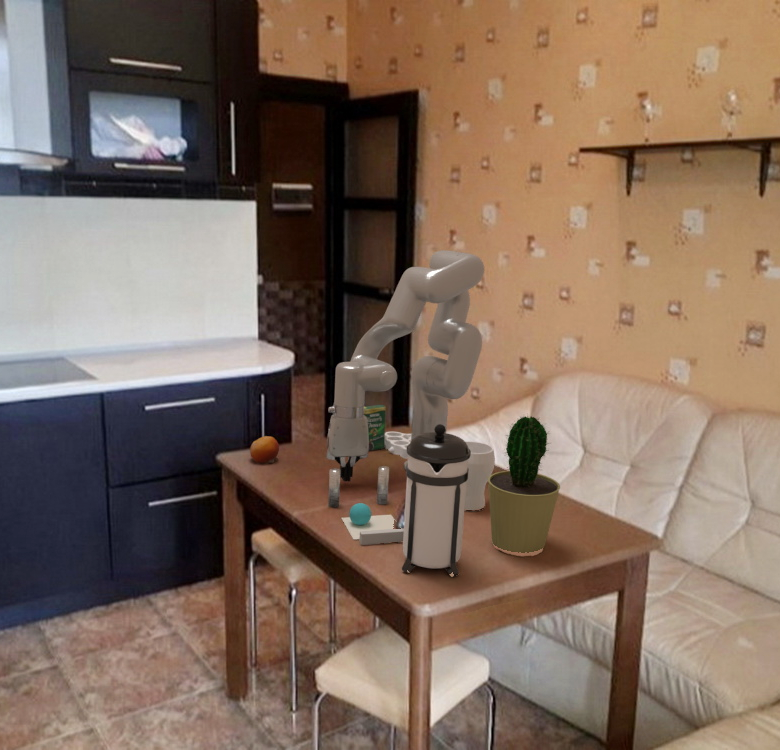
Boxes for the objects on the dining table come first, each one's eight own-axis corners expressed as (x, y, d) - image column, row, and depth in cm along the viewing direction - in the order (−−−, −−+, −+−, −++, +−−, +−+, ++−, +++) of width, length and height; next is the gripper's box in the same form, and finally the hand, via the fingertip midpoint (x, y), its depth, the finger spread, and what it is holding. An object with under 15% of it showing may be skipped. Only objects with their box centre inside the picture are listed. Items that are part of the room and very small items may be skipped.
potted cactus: (517, 567, 169) (530, 428, 163) (468, 540, 181) (478, 409, 175) (568, 551, 178) (582, 419, 172) (518, 526, 190) (529, 401, 184)
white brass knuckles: (441, 458, 238) (396, 462, 232) (415, 439, 254) (372, 443, 248) (442, 447, 237) (396, 451, 231) (416, 429, 253) (372, 432, 247)
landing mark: (390, 515, 193) (390, 514, 193) (406, 536, 182) (406, 535, 182) (341, 518, 189) (341, 517, 189) (353, 540, 178) (353, 539, 178)
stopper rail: (411, 538, 181) (412, 527, 180) (414, 541, 179) (414, 530, 179) (359, 542, 177) (359, 531, 177) (361, 545, 176) (361, 534, 175)
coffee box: (360, 452, 238) (362, 408, 235) (355, 449, 240) (357, 406, 237) (384, 449, 241) (387, 406, 239) (380, 446, 244) (382, 404, 241)
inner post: (385, 500, 202) (387, 465, 200) (388, 504, 199) (390, 469, 197) (375, 501, 201) (377, 466, 199) (378, 505, 199) (380, 469, 197)
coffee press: (486, 569, 168) (497, 428, 161) (424, 587, 159) (434, 439, 152) (433, 538, 181) (442, 407, 175) (374, 553, 172) (381, 416, 166)
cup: (461, 494, 209) (465, 438, 205) (498, 505, 203) (503, 447, 200) (439, 505, 200) (443, 447, 197) (477, 517, 194) (482, 457, 191)
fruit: (283, 461, 222) (268, 436, 220) (258, 474, 223) (243, 449, 221) (287, 452, 230) (273, 428, 228) (263, 464, 231) (249, 440, 229)
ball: (371, 529, 185) (367, 520, 190) (374, 508, 184) (370, 500, 189) (349, 528, 184) (346, 519, 188) (352, 507, 183) (349, 499, 187)
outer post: (337, 503, 198) (339, 468, 196) (340, 507, 196) (341, 471, 194) (327, 503, 198) (328, 468, 196) (329, 508, 195) (330, 472, 193)
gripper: (322, 416, 201) (320, 486, 205) (381, 414, 205) (377, 483, 209) (316, 407, 208) (314, 476, 212) (373, 406, 212) (370, 473, 216)
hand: (346, 479), depth 210 cm, fingers closed
